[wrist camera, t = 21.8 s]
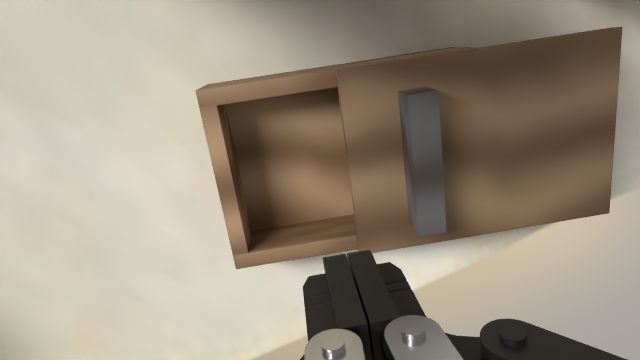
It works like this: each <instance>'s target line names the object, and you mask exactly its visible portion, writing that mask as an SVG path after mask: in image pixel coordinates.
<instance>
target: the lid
mask: <svg viewBox="0 0 640 360" xmlns="http://www.w3.org/2000/svg"><path fill="white" fill-rule="evenodd" d="M621 38H622V27H614V28H606V29H599V30H593V31H586V32H580V33H573V34H566V35H560V36H553V37H547V38H540V39H534V40H527V41H520V42H514V43H507V44H501V45H494V46H487V47H481V48H474V49H468V50H461V51H454V52H448V53H441V54H435V55H428V56H422V57H415V58H408V59H402V60H395V61H389V62H382V63H375V64H369V65H362V66H356V67H349V68H343V69H336V78H337V86H338V94H339V102H340V110H341V117H342V125H343V133H344V141H345V149H346V157H347V165H348V173H349V181H350V188H351V196H352V204H353V212H354V220H355V228H356V236H357V244H358V250H359V251H364V250H370V251H371V253H376V252H382V251H387V250H393V249H399V248H405V247H411V246H417V245H423V244H429V243H435V242H441V241H447V240H453V239H459V238H464V237H470V236H476V235H482V234H488V233H494V232H500V231H506V230H512V229H518V228H524V227H530V226H536V225H542V224H547V223H553V222H559V221H565V220H571V219H576V218H582V217H589V216H594V215H600V214H607V213H609V208H610V194H611V180H612V166H613V152H614V138H615V123H616V109H617V95H618V81H619V66H620V52H621Z"/></svg>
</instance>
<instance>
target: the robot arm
mask: <svg viewBox="0 0 640 360" xmlns="http://www.w3.org/2000/svg"><path fill="white" fill-rule="evenodd" d="M323 263H324V270H325V274H320V275H314V276H309V277H308V279H307V280H306V282H305V284H304V286H303V293H304V304H305V314H306V324H307V334H308V343H307V345H306V347H305V354H304V355H303V357H302V358H301V359H300V360H627V359H624V358H621V357H618V356H616V355H613V354H610V353H608V352H605V351H602V350H599V349H597V348H594V347H591V346H589V345H586V344H583V343H581V342H578V341H575V340H572V339H569V338H567V337H564V336H562V335H559V334H556V333H553V332H551V331H548V330H545V329H543V328H540V327H537V326H534V325H532V324H529V323H526V322H523V321H519V320H515V319H498V320H494V321H491V322H489V323H487V324H486V325H485V326H484V327H483V328H482V329H481V332H480V337H467V336H456V335H451V334H447V333H445V332H444V331H443V330H442V328H441V327H440V326H439V324H438V323H436V322H435V321H434V320H432V319H430V318H427V317H426V316H425V314H424V312H423V310H422V308H421V306H420V304H419V303H418V301H417V299H416V297H415V295H414V293H413V291H412V289H411V288H410V286H409V284H408V282H407V281H406V278H405V276H404V274H403V273H402V271H401V269H399V268H398V267H396V266H395V265H393V264H392V263H390V262H388V263H382V264H376V262H375V259H374V257H373V255H372V253H371V251H370V250H364V251H359V252H353V253H347V257H346V254H342V255H336V256H330V257H325V258H323Z"/></svg>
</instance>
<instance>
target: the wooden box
mask: <svg viewBox="0 0 640 360" xmlns="http://www.w3.org/2000/svg"><path fill="white" fill-rule="evenodd" d="M468 49H474V48H452V47H451V48H445V49H438V50H432V51H425V52H418V53H412V54H405V55H399V56H392V57H385V58H379V59H372V60H366V61H359V62H352V63H346V64H339V65H333V66H326V67H319V68H313V69H306V70H299V71H293V72H286V73H280V74H273V75H266V76H260V77H253V78H247V79H240V80H233V81H227V82H220V83H214V84H207V85H205V86H204V87H202V88H200V89H198V90H196V95H197V99H198V104H199V108H200V112H201V117H202V121H203V126H204V130H205V134H206V139H207V143H208V148H209V152H210V156H211V161H212V165H213V170H214V174H215V178H216V183H217V187H218V192H219V196H220V200H221V205H222V209H223V214H224V218H225V222H226V227H227V231H228V236H229V240H230V244H231V249H232V253H233V258H234V262H235V266H236V269H240V268H246V267H252V266H258V265H264V264H270V263H276V262H282V261H288V260H294V259H300V258H306V257H312V256H317V255H323V254H329V253H335V252H341V251H347V250H353V249H358V244H357V236H356V228H355V220H354V212H353V204H352V196H351V188H350V181H349V173H348V165H347V157H346V149H345V141H344V133H343V125H342V117H341V110H340V102H339V94H338V86H337V78H336V69H343V68H349V67H356V66H362V65H369V64H375V63H382V62H389V61H395V60H402V59H408V58H415V57H422V56H428V55H435V54H441V53H448V52H454V51H461V50H468Z"/></svg>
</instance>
